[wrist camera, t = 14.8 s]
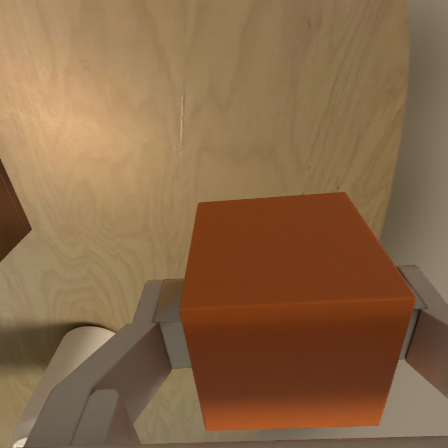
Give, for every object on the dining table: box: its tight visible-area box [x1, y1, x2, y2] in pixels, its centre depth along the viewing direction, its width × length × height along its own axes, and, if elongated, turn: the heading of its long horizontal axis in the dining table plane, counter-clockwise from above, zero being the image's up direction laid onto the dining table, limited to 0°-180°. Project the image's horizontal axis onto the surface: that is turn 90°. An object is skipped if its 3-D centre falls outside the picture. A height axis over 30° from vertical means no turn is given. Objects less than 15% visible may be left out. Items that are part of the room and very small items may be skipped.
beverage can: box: [12, 326, 116, 448], centre depth 35 cm, size 8×8×12 cm
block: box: [179, 192, 416, 431], centre depth 9 cm, size 4×4×4 cm
